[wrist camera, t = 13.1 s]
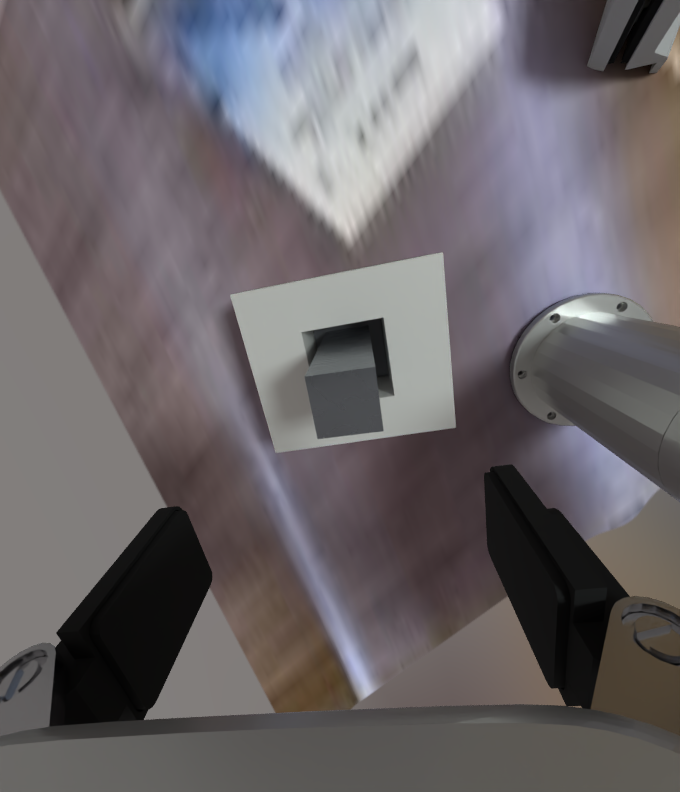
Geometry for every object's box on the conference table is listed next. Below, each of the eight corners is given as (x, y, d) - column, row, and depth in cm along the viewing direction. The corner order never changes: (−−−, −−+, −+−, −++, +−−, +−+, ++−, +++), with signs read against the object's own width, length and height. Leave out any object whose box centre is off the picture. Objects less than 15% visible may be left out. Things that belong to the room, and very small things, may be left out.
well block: (426, 255, 30) (442, 252, 24) (440, 401, 34) (456, 427, 29) (252, 289, 31) (230, 294, 26) (288, 424, 36) (275, 452, 31)
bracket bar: (368, 325, 32) (375, 366, 19) (373, 365, 33) (383, 431, 20) (326, 331, 32) (304, 376, 19) (333, 371, 34) (317, 439, 20)
